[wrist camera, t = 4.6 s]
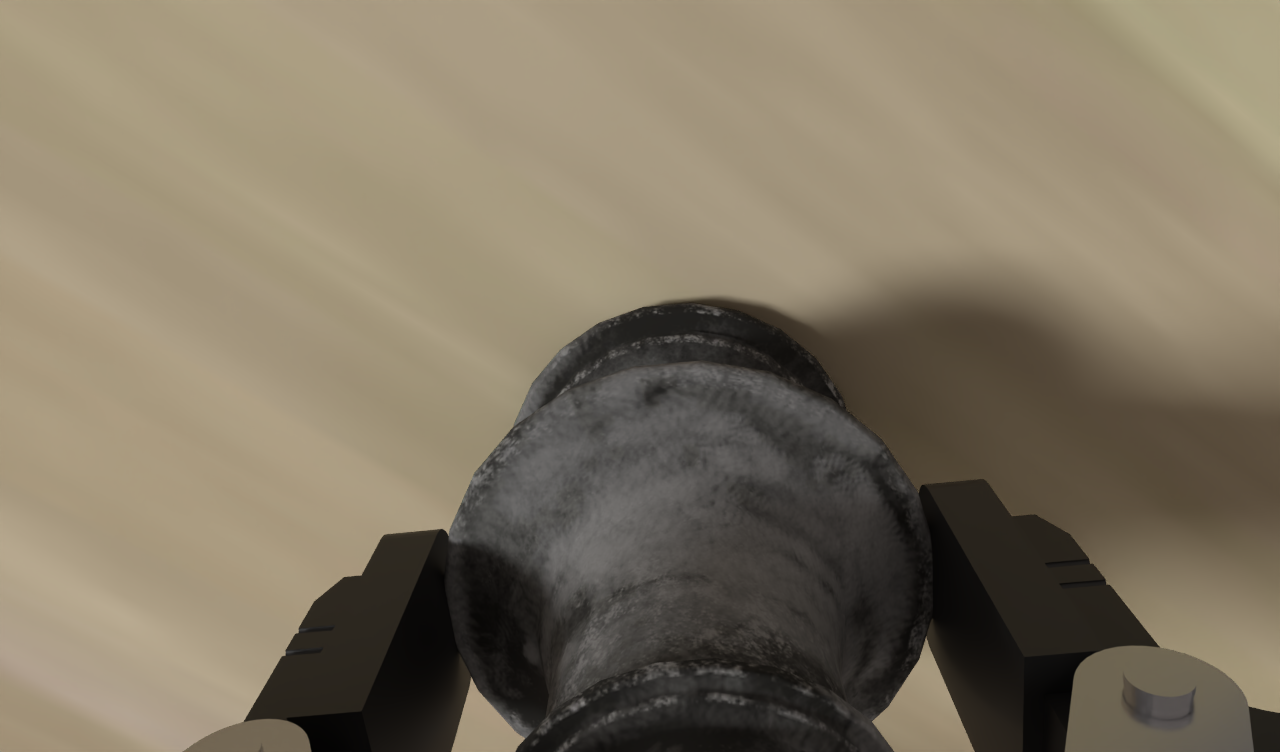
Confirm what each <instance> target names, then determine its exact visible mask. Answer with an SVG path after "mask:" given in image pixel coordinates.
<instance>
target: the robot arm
mask: <svg viewBox="0 0 1280 752" xmlns="http://www.w3.org/2000/svg"><path fill="white" fill-rule="evenodd" d="M919 497H920V500H921V504H922V507H923V510H924V513H925V516H926V520H927V523H928V526H929V529H930V532H931V543H932V559H933V614H932V619H931V622H930V625H929V629H928V632H927V635H926V636H927V640H928V643H929V646H930V649H931V651H932V654H933V656H934V658H935V661H936V663H937V665H938V668H939V670H940V672H941V675H942V677H943V679H944V682H945V684H946V686H947V689H948V691H949V693H950V695H951V698H952V700H953V702H954V705H955V707H956V709H957V712H958V714H959V716H960V719H961V721H962V723H963V726H964V728H965V730H966V733H967V735H968V737H969V740H970V742H971V744H972V746H973V749H974V751H975V752H1280V713H1276V712H1270V711H1265V710H1261V709H1256V708H1252V707H1248V703H1247V699H1246V697H1245V696H1244V694H1243V692H1242V690H1241V689H1240V688H1239V687H1238V686H1237V684H1236V683H1235V682H1234V681H1233V680H1232V679H1231V678H1229V677H1228V676H1227V675H1226V674H1225V673H1223V672H1222V671H1220V670H1219V669H1217V668H1215V667H1214V666H1212V665H1210V664H1208V663H1206V662H1204V661H1202V660H1200V659H1198V658H1195V657H1192V656H1190V655H1187V654H1184V653H1180V652H1177V651H1174V650H1169V649H1164V648H1160V647H1159V646H1158V645H1157V643H1156V642H1155V641H1154V640H1153V638H1152V637H1151V636H1150V635H1149V633H1148V632H1147V631H1146V630H1145V628H1144V627H1143V626H1142V625H1141V623H1140V622H1139V621H1138V619H1137V618H1136V617H1135V616H1134V614H1133V613H1132V612H1131V611H1130V609H1129V608H1128V607H1127V606H1126V604H1125V603H1124V602H1123V601H1122V599H1121V598H1120V597H1119V596H1118V594H1117V593H1116V592H1115V591H1114V589H1113V588H1112V587H1111V586H1110V585H1106V579H1105V578H1104V577H1103V576H1102V574H1101V573H1100V572H1099V571H1098V569H1097V568H1096V567H1095V566H1094V564H1090V562H1089V558H1088V557H1087V556H1086V554H1085V553H1084V552H1083V550H1082V549H1081V548H1080V547H1079V545H1078V544H1077V543H1076V542H1075V540H1074V539H1073V538H1072V537H1071V535H1070V534H1068V533H1067V532H1065V531H1063V530H1061V529H1060V528H1058V527H1056V526H1054V525H1052V524H1051V523H1049V522H1047V521H1045V520H1044V519H1042V518H1040V517H1038V516H1037V515H1024V516H1013V517H1012V516H1011V515H1010V514H1009V512H1008V511H1007V509H1006V508H1005V507H1004V505H1003V504H1002V502H1001V501H1000V500H999V498H998V497H997V495H996V494H995V493H994V491H993V490H992V488H991V487H990V485H989V484H988V483H987V482H986V481H985V480H984V479H978V480H968V481H957V482H946V483H936V484H925V485H922V486H921V488H920V491H919ZM448 539H449V536H448V534H447V533H446V531H445V530H443V529H438V530H427V531H417V532H406V533H396V534H386V535H384V536H383V537H382V538H381V540H380V542H379V544H378V546H377V547H376V549H375V551H374V553H373V555H372V557H371V559H370V561H369V563H368V564H367V566H366V568H365V570H364V572H363V574H362V576H351V577H344V578H343V579H341V580H340V581H339V582H338V583H336V584H335V585H334V586H333V587H332V588H330V589H329V590H328V591H327V592H325V593H324V594H323V595H322V596H321V597H319V598H318V599H317V600H316V601H314V603H313V605H312V606H311V608H310V610H309V611H308V613H307V615H306V617H305V618H304V620H303V622H302V623H301V625H300V627H299V633H298V634H295V635H294V637H293V639H292V640H291V642H290V644H289V645H288V647H287V649H286V656H282V657H281V659H280V661H279V663H278V664H277V666H276V668H275V669H274V671H273V673H272V674H271V676H270V678H269V680H268V681H267V683H266V685H265V686H264V688H263V690H262V691H261V693H260V695H259V697H258V698H257V700H256V702H255V703H254V705H253V707H252V708H251V710H250V712H249V714H248V715H247V717H246V719H245V720H244V722H242V723H239V724H235V725H232V726H229V727H226V728H224V729H221V730H219V731H216V732H214V733H212V734H210V735H208V736H206V737H204V738H203V739H201V740H199V741H198V742H196V743H194V744H193V745H192V746H190V747H189V748H187V749H186V750H185V751H183V752H451V750H452V747H453V743H454V740H455V736H456V733H457V729H458V725H459V722H460V718H461V715H462V711H463V708H464V704H465V701H466V697H467V693H468V690H469V686H470V680H471V675H470V673H469V671H468V669H467V667H466V665H465V663H464V661H463V659H462V657H461V655H460V653H459V651H458V649H457V646H456V642H455V637H454V632H453V627H452V622H451V617H450V612H449V607H448V602H447V597H446V592H445V586H444V574H445V566H446V557H447V548H448Z"/></svg>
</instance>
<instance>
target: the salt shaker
mask: <svg viewBox="0 0 1280 752" xmlns="http://www.w3.org/2000/svg"><path fill="white" fill-rule="evenodd" d="M444 586H445V592H446V597H447V602H448V607H449V612H450V617H451V622H452V627H453V632H454V637H455V642H456V646H457V649H458V651H459V653H460V655H461V657H462V659H463V661H464V663H465V665H466V667H467V669H468V671H469V673H470V675H471V677H472V679H473V681H474V683H475V685H476V687H477V689H478V691H479V692H480V693H481V694H482V695H483V696H484V697H485V698H486V699H487V701H488V702H489V703H490V704H491V705H492V706H493V707H494V708H495V709H496V710H497V712H498V713H499V714H500V715H501V716H502V717H503V718H504V719H505V720H506V721H507V722H508V724H509V725H510V726H511V727H512V728H513V729H514V730H515V731H516V732H517V733H518V734H520V735H521V736H523V737H524V738H526V739H525V740H524V741H523V742H522V743H521V744H520V745H519V746H518V748H517V750H516V752H894V751H893V749H892V748H891V747H890V745H889V744H888V743H887V741H886V740H885V739H884V737H883V736H882V735H881V733H880V732H879V731H878V729H877V728H876V727H875V725H874V724H873V723H872V721H873V720H874V719H875V718H876V717H877V716H878V715H879V714H880V713H882V712H883V711H884V710H885V709H886V708H887V707H888V706H889V704H890V703H891V701H892V700H893V698H894V697H895V695H896V694H897V692H898V691H899V689H900V688H901V686H902V685H903V683H904V682H905V680H906V678H907V677H908V675H909V674H910V672H911V671H912V669H913V668H914V666H915V665H916V663H917V662H918V660H919V658H920V655H921V651H922V648H923V645H924V642H925V638H926V635H927V632H928V629H929V625H930V622H931V619H932V614H933V559H932V543H931V532H930V529H929V526H928V523H927V520H926V516H925V513H924V510H923V507H922V504H921V500H920V497H919V494H918V492H917V490H916V489H915V487H914V486H913V484H912V483H911V481H910V480H909V478H908V477H907V475H906V474H905V473H904V471H903V470H902V468H901V467H900V465H899V464H898V462H897V461H896V459H895V458H894V457H893V455H892V454H891V452H890V451H889V449H888V448H887V446H886V445H885V444H884V442H883V441H882V439H881V438H879V437H878V436H877V435H876V434H874V433H873V432H872V431H871V430H870V429H868V428H867V427H866V426H865V425H863V424H862V423H861V422H860V421H859V420H857V419H856V418H855V417H854V416H852V415H851V414H850V413H849V412H847V410H846V407H845V404H844V401H843V398H842V396H841V394H840V393H839V391H838V390H837V388H836V387H835V385H834V384H833V382H832V381H831V380H830V378H829V377H828V375H827V374H826V372H825V371H824V369H823V368H822V367H821V365H820V364H819V362H818V361H817V359H816V358H815V357H813V356H812V355H811V354H810V353H809V352H807V351H806V350H805V349H804V348H802V347H801V346H800V345H799V344H798V343H796V342H795V341H794V340H793V339H792V338H790V337H789V336H788V335H787V334H785V333H784V332H783V331H782V330H780V329H778V328H776V327H774V326H771V325H769V324H767V323H765V322H762V321H760V320H758V319H756V318H754V317H751V316H749V315H747V314H745V313H742V312H740V311H737V310H731V309H725V308H719V307H713V306H707V305H701V304H695V303H684V304H672V305H661V306H650V307H642V308H639V309H637V310H634V311H631V312H628V313H625V314H623V315H620V316H617V317H614V318H611V319H609V320H606V321H603V322H600V323H598V324H597V325H595V326H594V327H592V328H591V329H589V330H588V331H586V332H585V333H584V334H582V335H581V336H579V337H578V338H576V339H575V340H573V341H572V342H571V343H569V344H568V345H566V346H565V347H563V348H562V349H561V350H560V351H559V352H558V353H557V354H556V356H555V357H554V358H553V359H552V360H551V361H550V363H549V364H548V365H547V366H546V367H545V369H544V370H543V371H542V372H541V373H540V375H539V376H538V377H537V378H536V379H535V381H534V382H533V383H532V385H531V387H530V390H529V392H528V394H527V396H526V399H525V401H524V403H523V405H522V408H521V410H520V412H519V414H518V417H517V419H516V421H515V424H514V427H513V428H512V429H511V430H510V432H509V433H508V434H507V435H506V436H505V438H504V439H503V440H502V441H501V442H500V443H499V445H498V446H497V447H496V448H495V449H494V451H493V452H492V453H491V454H490V455H489V456H488V458H487V459H486V460H485V461H484V462H483V464H482V465H481V466H480V467H479V468H478V470H477V471H476V472H475V473H474V475H473V478H472V480H471V482H470V485H469V487H468V489H467V491H466V494H465V496H464V498H463V501H462V503H461V505H460V507H459V510H458V512H457V514H456V517H455V519H454V521H453V523H452V526H451V528H450V531H449V539H448V548H447V557H446V566H445V574H444Z"/></svg>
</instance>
